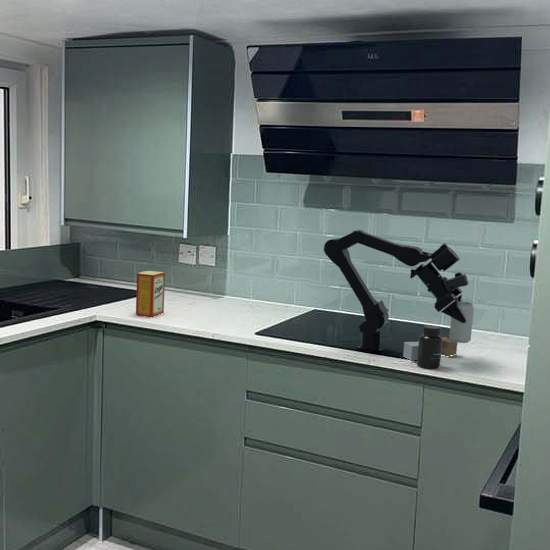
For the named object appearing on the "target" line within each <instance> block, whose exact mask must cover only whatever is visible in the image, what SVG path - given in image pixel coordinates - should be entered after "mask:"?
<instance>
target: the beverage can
mask: <svg viewBox="0 0 550 550" xmlns="http://www.w3.org/2000/svg"><path fill="white" fill-rule="evenodd" d="M458 307H459V309H460V311H461V313H462V314H463V316H464V318H465V319H466V322H465V323H462V322H460V321H458V320H456V319H454V318H452V317H450V325H449V326H450V327H449V337H448V338H449V339H451V341H453V342H457V344H458V343H459V344H467V343H469V342H470V341H472V340H471V339H472V330H473V321H474V320H473V319H474V310H475V308H474V306H473V303H472V302H470V301H464V300H463V301H462V300H461V301H458Z"/></svg>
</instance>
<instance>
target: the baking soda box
mask: <svg viewBox="0 0 550 550" xmlns="http://www.w3.org/2000/svg"><path fill="white" fill-rule="evenodd" d="M165 273H166V272H165V271H157V270H155V271H154V270H145V271H141V272H138V273H136V291H135V293H136V295H135V296H136V297H135V298H136V299H135V301H136V302H135V316H136V315H138V316H137V317H143V316H146V317H145V318H151V317H152V318H155V317H157V316H156V315H158V316H160V315H162V314H161V313H163V314H165V313H164V311H165V283H166V281H165V280H166V279H165V277H166V274H165ZM159 314H160V315H159ZM154 316H155V317H154Z"/></svg>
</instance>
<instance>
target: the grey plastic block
mask: <svg viewBox="0 0 550 550" xmlns="http://www.w3.org/2000/svg"><path fill="white" fill-rule="evenodd" d="M418 344H419V341H404V342H403V354H402V358H403V357H405V358H407V359H409V360H410V361H414V360H417V355H418ZM405 358H404V359H405ZM410 361H409V362H410Z"/></svg>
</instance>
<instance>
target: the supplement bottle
mask: <svg viewBox="0 0 550 550" xmlns="http://www.w3.org/2000/svg"><path fill="white" fill-rule="evenodd" d="M422 332H423V334H421V335H420V336H419V338H418V342H419V344H418V355H417V362H416V365H417V366H418V367H419V368H423V369H426V370H429V369H430V370H436V368H437V369H439V368H440V366H441V358H442V356H441V350H442V338H443V337H442V336H440V334H441V328H440V327H439V326H436V325H424V326H423V329H422Z"/></svg>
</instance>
